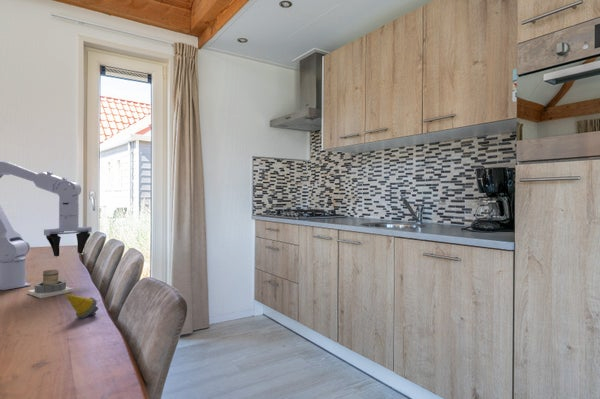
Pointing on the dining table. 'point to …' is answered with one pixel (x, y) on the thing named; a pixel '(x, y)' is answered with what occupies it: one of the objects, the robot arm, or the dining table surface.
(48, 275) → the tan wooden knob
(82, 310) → the cone
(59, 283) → the collar stand
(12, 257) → the robot arm
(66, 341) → the dining table surface
